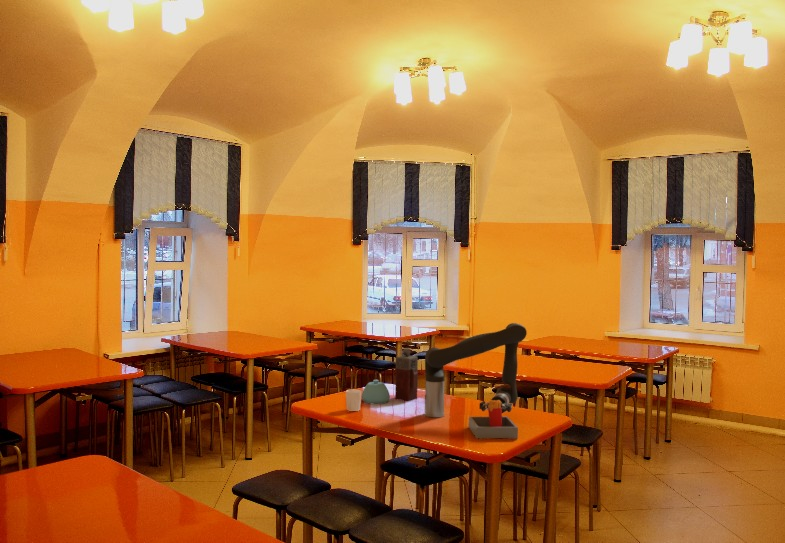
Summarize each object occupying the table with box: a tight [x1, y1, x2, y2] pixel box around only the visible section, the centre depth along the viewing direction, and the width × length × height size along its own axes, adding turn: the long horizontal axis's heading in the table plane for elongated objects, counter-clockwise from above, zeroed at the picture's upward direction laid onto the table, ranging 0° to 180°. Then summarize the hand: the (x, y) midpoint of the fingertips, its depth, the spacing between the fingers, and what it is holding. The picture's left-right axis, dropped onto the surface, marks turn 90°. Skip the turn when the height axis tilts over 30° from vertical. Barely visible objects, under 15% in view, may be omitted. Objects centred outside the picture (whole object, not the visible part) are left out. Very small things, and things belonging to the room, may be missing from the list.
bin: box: [468, 416, 519, 440], centre depth 277 cm, size 18×18×5 cm
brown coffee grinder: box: [394, 347, 419, 402], centre depth 340 cm, size 9×11×28 cm
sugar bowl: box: [361, 379, 391, 405], centre depth 335 cm, size 15×15×12 cm
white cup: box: [345, 388, 362, 412], centre depth 314 cm, size 8×8×10 cm
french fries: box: [488, 399, 503, 427], centre depth 278 cm, size 9×4×13 cm, turn 15°
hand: (492, 410), depth 278 cm, fingers open, 8 cm apart
